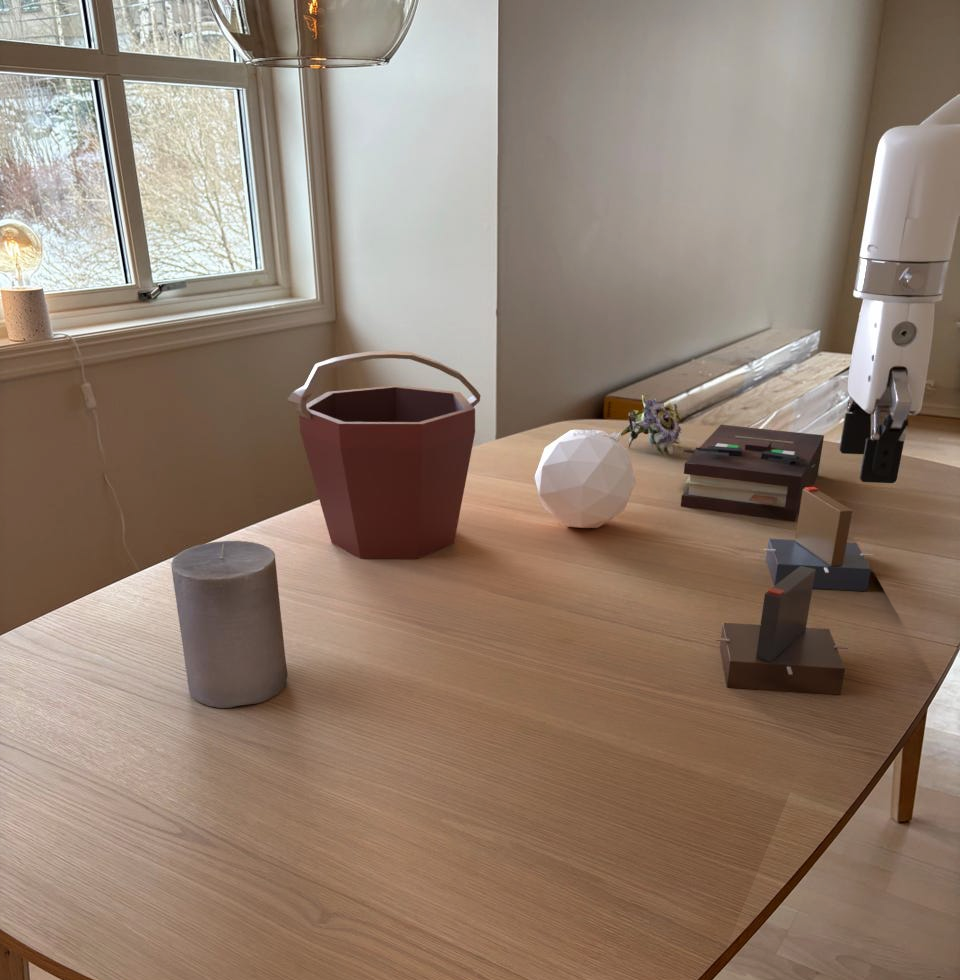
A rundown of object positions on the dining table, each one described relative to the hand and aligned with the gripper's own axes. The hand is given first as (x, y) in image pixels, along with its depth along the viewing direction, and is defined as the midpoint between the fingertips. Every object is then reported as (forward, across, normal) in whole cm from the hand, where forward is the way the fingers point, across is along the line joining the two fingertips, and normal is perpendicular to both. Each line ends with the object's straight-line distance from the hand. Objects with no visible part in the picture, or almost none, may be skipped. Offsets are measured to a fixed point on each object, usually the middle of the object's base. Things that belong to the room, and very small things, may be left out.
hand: (866, 466), depth 96 cm
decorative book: (+21, +58, +2) cm, 61 cm away
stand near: (+21, -4, +6) cm, 22 cm away
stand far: (+21, +23, -2) cm, 31 cm away
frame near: (+18, -4, +6) cm, 19 cm away
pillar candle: (+21, -15, +60) cm, 65 cm away
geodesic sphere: (+21, +38, +28) cm, 52 cm away
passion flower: (+21, +79, +18) cm, 84 cm away
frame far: (+18, +23, -2) cm, 29 cm away
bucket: (+21, +29, +54) cm, 65 cm away
